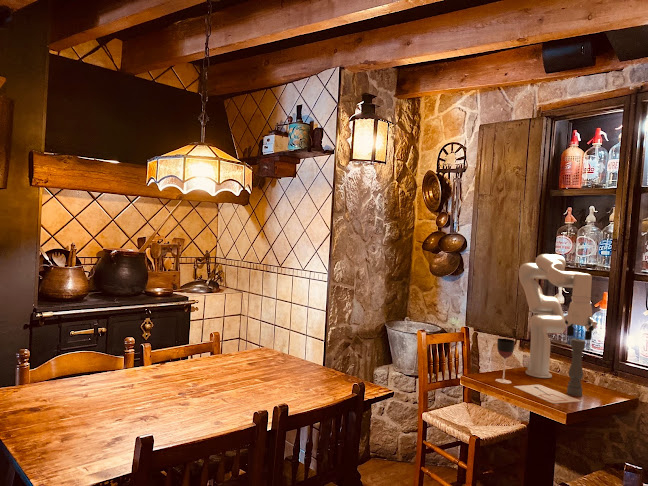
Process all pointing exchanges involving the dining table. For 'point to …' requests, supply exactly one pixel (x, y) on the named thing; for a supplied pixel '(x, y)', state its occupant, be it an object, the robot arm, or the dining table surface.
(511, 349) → the wineglass
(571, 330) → the robot arm
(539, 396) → the paper sheet
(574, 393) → the candle holder
